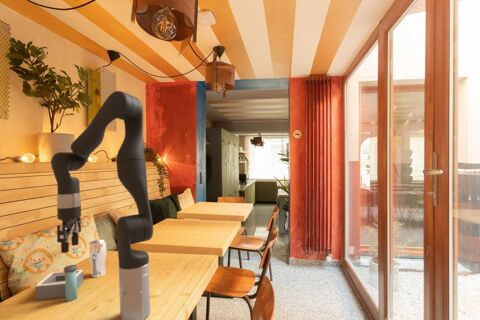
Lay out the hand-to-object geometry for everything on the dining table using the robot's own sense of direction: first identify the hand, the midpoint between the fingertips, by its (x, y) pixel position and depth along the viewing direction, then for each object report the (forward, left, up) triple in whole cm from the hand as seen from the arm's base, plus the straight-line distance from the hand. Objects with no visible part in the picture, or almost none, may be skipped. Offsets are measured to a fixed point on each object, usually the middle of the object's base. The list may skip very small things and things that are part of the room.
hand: (70, 248), depth 101 cm
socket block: (+8, +7, -19) cm, 22 cm away
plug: (0, 0, -19) cm, 19 cm away
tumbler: (+21, -3, -19) cm, 28 cm away
